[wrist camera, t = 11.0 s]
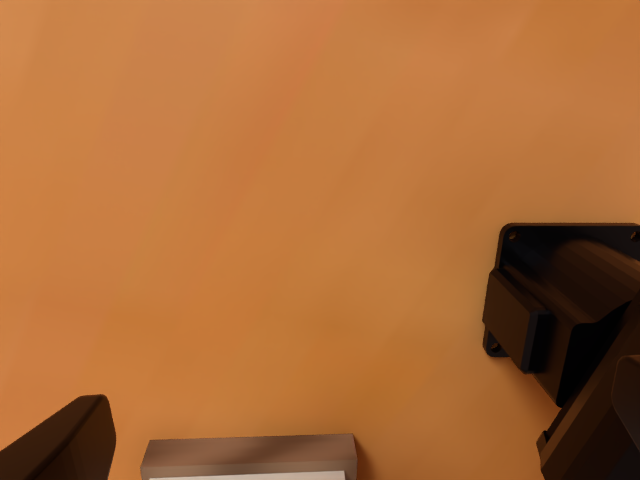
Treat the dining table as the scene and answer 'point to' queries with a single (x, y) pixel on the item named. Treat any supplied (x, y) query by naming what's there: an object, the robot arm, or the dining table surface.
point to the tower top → (269, 476)
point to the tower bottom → (250, 456)
